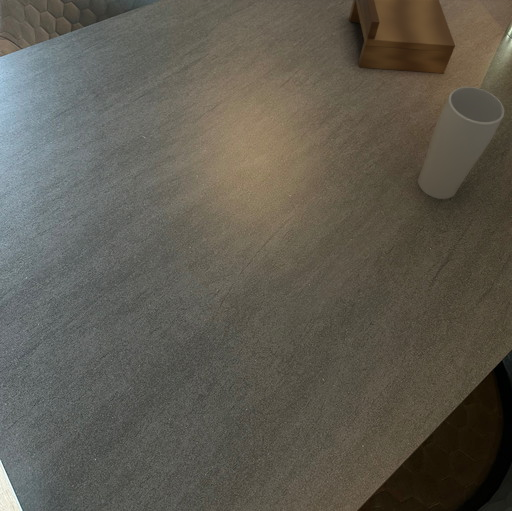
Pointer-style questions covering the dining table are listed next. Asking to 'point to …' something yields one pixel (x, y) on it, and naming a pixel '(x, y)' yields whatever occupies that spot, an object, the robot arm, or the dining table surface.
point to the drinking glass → (459, 140)
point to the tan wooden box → (403, 35)
